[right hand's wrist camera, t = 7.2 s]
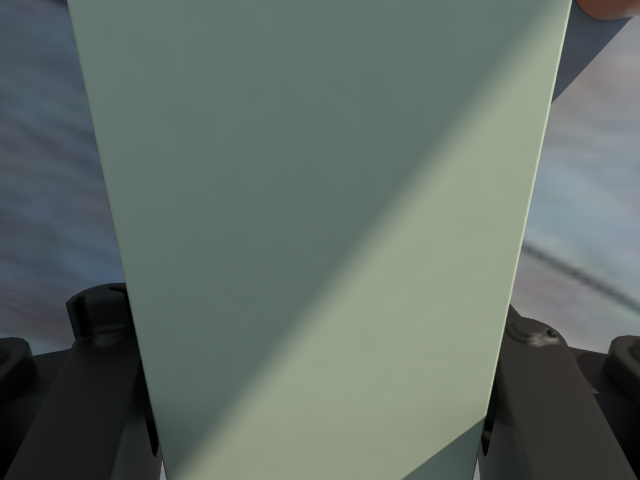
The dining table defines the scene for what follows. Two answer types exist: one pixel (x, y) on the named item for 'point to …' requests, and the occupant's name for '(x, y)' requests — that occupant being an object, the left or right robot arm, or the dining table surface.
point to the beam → (319, 220)
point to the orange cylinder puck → (610, 9)
